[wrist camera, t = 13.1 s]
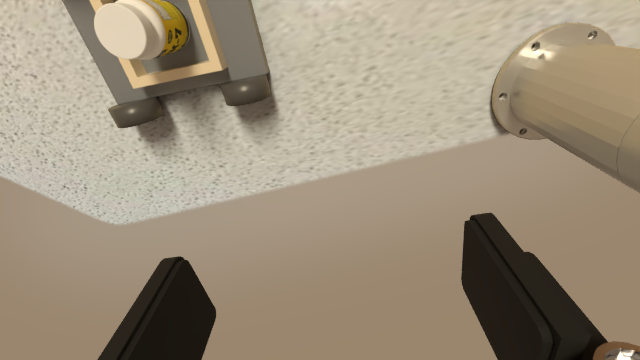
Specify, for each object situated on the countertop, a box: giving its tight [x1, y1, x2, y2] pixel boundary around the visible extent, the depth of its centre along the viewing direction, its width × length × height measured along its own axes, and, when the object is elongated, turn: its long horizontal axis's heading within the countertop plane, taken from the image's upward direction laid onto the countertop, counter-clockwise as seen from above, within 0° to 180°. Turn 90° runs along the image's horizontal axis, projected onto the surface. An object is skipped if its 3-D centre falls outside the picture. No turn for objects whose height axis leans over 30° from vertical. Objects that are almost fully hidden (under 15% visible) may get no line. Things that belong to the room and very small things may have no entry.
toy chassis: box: [62, 0, 271, 128], centre depth 30 cm, size 18×17×5 cm
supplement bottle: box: [94, 0, 190, 60], centre depth 27 cm, size 5×5×8 cm
